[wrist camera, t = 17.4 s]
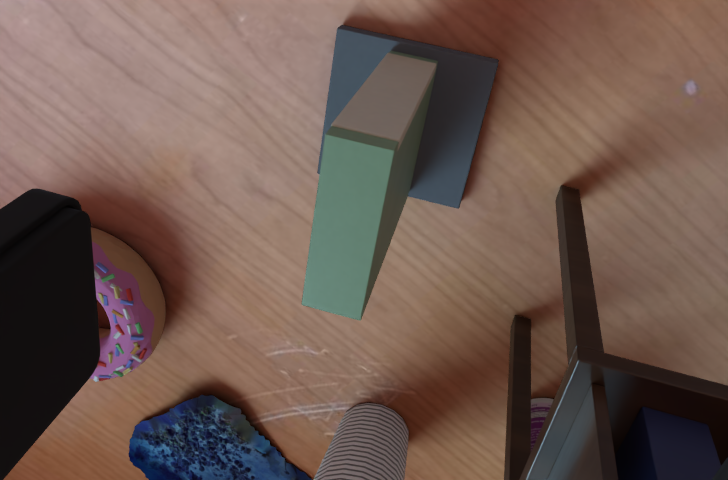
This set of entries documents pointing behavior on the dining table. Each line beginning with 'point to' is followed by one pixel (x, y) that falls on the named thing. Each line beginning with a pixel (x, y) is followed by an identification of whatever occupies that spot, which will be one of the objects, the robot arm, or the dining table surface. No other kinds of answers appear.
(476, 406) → the dining table surface
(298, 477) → the rock
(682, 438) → the navy book
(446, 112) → the mat
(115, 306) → the donut
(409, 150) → the green book
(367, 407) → the cup
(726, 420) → the rack
